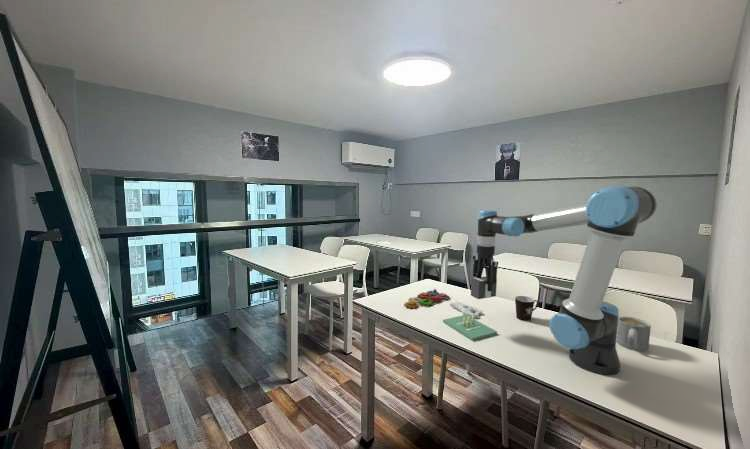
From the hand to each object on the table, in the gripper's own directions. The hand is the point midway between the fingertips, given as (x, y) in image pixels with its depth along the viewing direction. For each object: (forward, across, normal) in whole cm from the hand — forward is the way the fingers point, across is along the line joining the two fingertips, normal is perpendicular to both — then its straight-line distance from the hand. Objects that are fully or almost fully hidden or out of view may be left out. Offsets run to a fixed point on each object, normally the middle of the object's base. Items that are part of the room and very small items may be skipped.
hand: (483, 295), depth 137 cm
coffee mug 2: (+15, -36, -44) cm, 59 cm away
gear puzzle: (+17, +40, +6) cm, 44 cm away
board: (+16, +2, +6) cm, 17 cm away
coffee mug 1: (+16, -1, -28) cm, 32 cm away
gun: (+17, +18, -6) cm, 25 cm away
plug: (0, 0, 0) cm, 0 cm away
